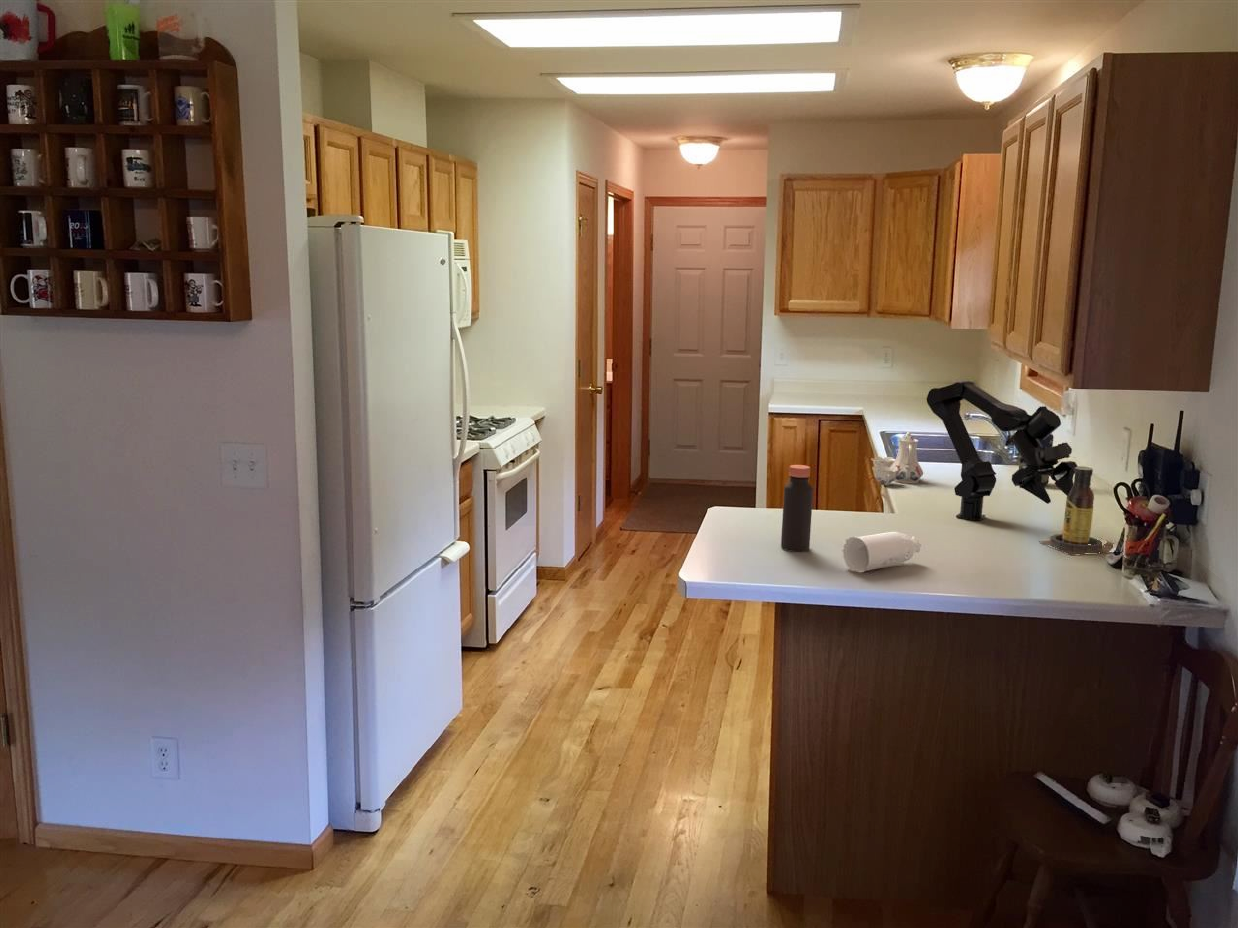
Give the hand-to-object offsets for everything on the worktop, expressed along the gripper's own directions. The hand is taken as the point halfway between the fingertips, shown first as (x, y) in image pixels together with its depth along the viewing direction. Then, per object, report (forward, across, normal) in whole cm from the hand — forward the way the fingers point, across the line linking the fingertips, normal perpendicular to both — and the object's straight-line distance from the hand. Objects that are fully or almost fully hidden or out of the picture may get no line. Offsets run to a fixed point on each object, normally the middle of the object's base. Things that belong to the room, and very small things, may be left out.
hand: (1061, 501), depth 262 cm
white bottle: (+7, -57, +9) cm, 58 cm away
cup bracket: (+12, +3, +3) cm, 13 cm away
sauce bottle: (+11, 0, +4) cm, 12 cm away
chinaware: (-46, +17, +63) cm, 80 cm away
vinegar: (-8, -66, +23) cm, 70 cm away
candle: (-30, +55, +47) cm, 78 cm away
